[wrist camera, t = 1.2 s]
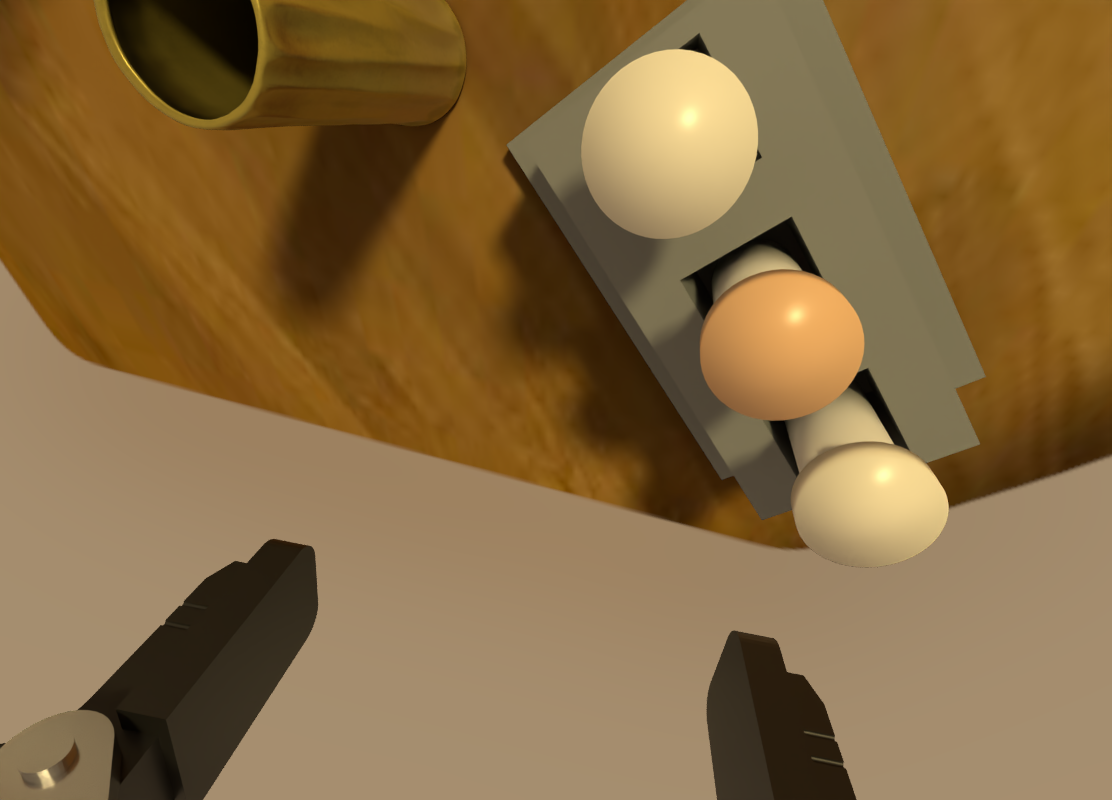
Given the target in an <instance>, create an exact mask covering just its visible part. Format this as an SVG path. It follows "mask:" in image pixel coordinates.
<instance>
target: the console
mask: <svg viewBox="0 0 1112 800" xmlns="http://www.w3.org/2000/svg"><path fill="white" fill-rule="evenodd" d="M673 49H682V50H690V51H695V52H699V53H702V54H705V55H707V56H709V57H712V58H714V59H716V60H717V61H719V62H720V63H722V64H723V65H725V66H726V67H727V68H728V69H729V70H730V71H731V72H733V73H734V74H735V76H736V77H737V78H738V79H739V80H740V82H741V83H742V84H743V86H744V88H745V89H746V91H747V93H748V94H749V97H750V99H751V102H752V104H753V107H754V111H755V115H756V118H757V127H758V148H757V155H756V160H755V163H754V167H753V171H752V173H751V176H750V178H749V181H748V183H747V184H746V186H745V188H744V190H743V192H742V193H741V195H740V196H739V198H738V199H737V201H736V202H735V203H734V204H733V205H732V207H731V208H730V209H729V210H728V211H727V212H726V213H725V214H724V215H722V216H721V217H720V218H719V219H718V220H716V221H715V222H714V223H712V224H711V225H709V226H708V227H706V228H704V229H702V230H700V231H698V232H695V233H693V234H690V235H687V236H683V237H679V238H671V239H654V238H648V237H643V236H640V235H636V234H634V233H631V232H629V231H627V230H625V229H623V228H622V227H620V226H619V225H617V224H616V223H614V222H613V221H612V220H611V219H610V218H608V217H607V216H606V214H605V213H604V212H603V211H602V210H601V209H600V207H599V206H598V205H597V203H596V202H595V200H594V198H593V197H592V195H591V193H590V191H589V188H588V186H587V183H586V180H585V176H584V172H583V167H582V158H581V144H582V136H583V130H584V126H585V122H586V119H587V116H588V114H589V111H590V109H591V107H592V105H593V103H594V101H595V99H596V97H597V96H598V94H599V93H600V91H601V90H602V88H603V87H604V86H605V85H606V83H607V82H608V81H609V80H610V79H611V78H612V77H613V76H614V75H615V74H616V73H617V72H618V71H620V70H621V69H622V68H623V67H625V66H626V65H628V64H629V63H631V62H632V61H634V60H636V59H638V58H640V57H642V56H645V55H648V54H651V53H654V52H658V51H663V50H673ZM507 147H508V148H509V150H510V151H511V153H512V154H513V156H514V158H515V159H516V161H517V162H518V164H519V165H520V167H521V168H522V170H523V172H524V173H525V175H526V176H527V178H528V179H529V181H530V182H531V184H532V186H533V187H534V189H535V190H536V192H537V193H538V195H539V196H540V198H541V200H542V201H543V203H544V204H545V206H546V207H547V209H548V210H549V212H550V214H551V215H552V217H553V218H554V220H555V221H556V223H557V224H558V226H559V228H560V229H561V231H562V232H563V234H564V235H565V237H566V238H567V240H568V242H569V243H570V245H571V246H572V248H573V249H574V251H575V252H576V254H577V256H578V257H579V259H580V260H581V262H582V263H583V265H584V266H585V268H586V270H587V271H588V273H589V274H590V276H591V277H592V279H593V280H594V282H595V284H596V285H597V287H598V288H599V290H600V291H601V293H602V294H603V296H604V298H605V299H606V301H607V302H608V304H609V305H610V307H611V308H612V310H613V312H614V313H615V315H616V316H617V318H618V319H619V321H620V322H621V324H622V326H623V327H624V329H625V330H626V332H627V333H628V335H629V336H630V338H631V340H632V341H633V343H634V344H635V346H636V347H637V349H638V350H639V352H640V354H641V355H642V357H643V358H644V360H645V361H646V363H647V364H648V366H649V368H650V369H651V371H652V372H653V374H654V375H655V377H656V378H657V380H658V382H659V383H660V385H661V386H662V388H663V389H664V391H665V392H666V394H667V396H668V397H669V399H670V400H671V402H672V403H673V405H674V406H675V408H676V410H677V411H678V413H679V414H680V416H681V417H682V419H683V420H684V422H685V424H686V425H687V427H688V428H689V430H690V431H691V433H692V434H693V436H694V438H695V439H696V441H697V442H698V444H699V445H700V447H701V448H702V450H703V452H704V453H705V455H706V456H707V458H708V459H709V461H710V462H711V464H712V466H713V467H714V469H715V470H716V472H717V473H718V475H719V476H720V478H721V480H723V479H726V478H728V477H731V476H733V475H734V477H735V478H736V480H737V482H738V483H739V485H740V486H741V488H742V489H743V491H744V493H745V494H746V496H747V497H748V499H749V501H750V502H751V504H752V505H753V507H754V508H755V510H756V512H757V513H758V515H759V516H760V518H761V519H762V520H764V519H767V518H770V517H773V516H775V515H778V514H781V513H784V512H787V511H790V510H792V507H791V492H792V487H793V485H794V482H795V480H796V478H797V476H798V475H799V470H798V466H797V463H796V459H795V456H794V452H793V449H792V446H791V442H790V439H789V435H788V432H787V428H786V425H785V421H784V420H775V421H771V420H761V419H756V418H752V417H748V416H745V415H743V414H740V413H738V412H736V411H734V410H732V409H731V408H729V407H728V406H726V405H725V404H724V403H722V402H721V401H720V400H719V399H718V398H717V397H716V396H715V395H714V393H713V392H712V391H711V389H710V388H709V386H708V384H707V382H706V380H705V378H704V375H703V372H702V368H701V363H700V334H701V330H702V326H703V323H704V320H705V318H706V315H707V314H708V312H709V310H710V308H711V307H712V306H713V294H712V276H713V272H714V270H715V267H716V265H717V264H718V262H719V261H720V259H721V258H722V257H723V256H724V255H725V254H727V253H729V252H731V251H732V250H734V249H736V248H738V247H739V246H741V245H743V244H745V243H746V242H748V241H751V240H768V241H772V242H775V243H778V244H780V245H781V246H783V247H785V248H786V249H787V250H788V251H789V252H790V253H791V254H792V255H793V257H794V259H795V260H796V262H797V263H798V265H799V266H800V268H801V270H802V271H805V272H808V273H812V274H815V275H817V276H819V277H821V278H823V279H825V280H826V281H828V282H830V283H831V284H832V285H834V286H835V287H836V288H837V289H838V290H839V291H840V292H841V293H842V294H843V296H844V297H845V298H846V299H847V301H848V302H849V303H850V304H851V306H852V307H853V308H854V310H855V312H856V313H857V315H858V317H859V319H860V322H861V325H862V328H863V333H864V354H863V358H862V362H861V365H860V367H859V370H858V372H857V374H856V376H855V377H854V379H853V380H854V381H855V382H857V384H858V385H859V386H860V387H861V389H862V390H863V392H864V394H865V396H866V397H867V399H868V401H869V402H870V404H871V406H872V408H873V409H874V411H875V413H876V414H877V416H878V418H879V420H880V421H881V423H882V425H883V426H884V428H885V430H886V431H887V433H888V435H889V437H890V438H891V440H892V442H893V443H894V445H897V446H900V447H903V448H905V449H907V450H909V451H911V452H913V453H914V454H916V455H918V456H919V457H920V458H921V459H922V460H924V461H925V463H928V462H931V461H933V460H936V459H939V458H942V457H945V456H948V455H951V454H953V453H956V452H959V451H962V450H965V449H968V448H971V447H974V446H976V445H979V444H980V442H979V440H978V438H977V436H976V434H975V431H974V429H973V427H972V425H971V423H970V421H969V418H968V416H967V414H966V412H965V410H964V407H963V405H962V403H961V401H960V399H959V396H958V394H957V392H956V390H955V388H958V387H961V386H963V385H966V384H968V383H971V382H973V381H976V380H978V379H981V378H984V377H986V376H985V374H984V372H983V369H982V367H981V365H980V362H979V360H978V358H977V355H976V353H975V351H974V348H973V346H972V344H971V341H970V339H969V337H968V335H967V332H966V330H965V328H964V325H963V323H962V321H961V318H960V316H959V314H958V311H957V309H956V307H955V304H954V302H953V300H952V298H951V295H950V293H949V291H948V288H947V286H946V284H945V281H944V279H943V277H942V274H941V272H940V270H939V267H938V265H937V263H936V261H935V258H934V256H933V254H932V251H931V249H930V247H929V244H928V242H927V240H926V237H925V235H924V233H923V230H922V228H921V226H920V224H919V221H918V219H917V217H916V214H915V212H914V210H913V207H912V205H911V203H910V200H909V198H908V196H907V193H906V191H905V189H904V187H903V184H902V182H901V180H900V177H899V175H898V173H897V170H896V168H895V166H894V163H893V161H892V159H891V156H890V154H889V152H888V150H887V147H886V145H885V143H884V140H883V138H882V136H881V133H880V131H879V129H878V126H877V124H876V122H875V119H874V117H873V115H872V113H871V110H870V108H869V106H868V103H867V101H866V99H865V96H864V94H863V92H862V89H861V87H860V85H859V82H858V80H857V78H856V76H855V73H854V71H853V69H852V66H851V64H850V62H849V59H848V57H847V55H846V52H845V50H844V48H843V45H842V43H841V41H840V39H839V36H838V34H837V32H836V29H835V27H834V25H833V22H832V20H831V18H830V15H829V13H828V11H827V8H826V6H825V4H824V2H823V0H687V1H686V2H684V3H683V4H682V5H681V6H679V7H678V8H677V9H676V10H674V11H673V12H672V13H671V14H669V15H668V16H667V17H666V18H664V19H663V20H662V21H661V22H659V23H658V24H657V25H656V26H654V27H653V28H652V29H651V30H649V31H648V32H647V33H646V34H644V35H643V36H642V37H641V38H639V39H638V40H637V41H636V42H634V43H633V44H632V45H631V46H629V47H628V48H627V49H626V50H624V51H623V52H622V53H621V54H619V55H618V56H617V57H616V58H614V59H613V60H612V61H611V62H609V63H608V64H607V65H606V66H604V67H603V68H602V69H601V70H599V71H598V72H597V73H596V74H594V75H593V76H592V77H591V78H589V79H588V80H587V81H586V82H584V83H583V84H582V85H581V86H579V87H578V88H577V89H576V90H574V91H573V92H572V93H571V94H569V95H568V96H567V97H566V98H564V99H563V100H562V101H561V102H559V103H558V104H557V105H556V106H554V107H553V108H552V109H551V110H549V111H548V112H547V113H546V114H544V115H543V116H542V117H541V118H539V119H538V120H537V121H536V122H534V123H533V124H532V125H531V126H529V127H528V128H527V129H526V130H524V131H523V132H522V133H521V134H519V135H518V136H517V137H516V138H514V139H513V140H512V141H511V142H509V143H508V144H507Z"/></svg>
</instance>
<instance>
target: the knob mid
mask: <svg viewBox="0 0 1112 800" xmlns="http://www.w3.org/2000/svg"><path fill="white" fill-rule="evenodd" d="M712 294H713V306H712V307H711V308H710V310H709V312H708V314H707V315H706V318H705V320H704V323H703V326H702V330H701V334H700V363H701V368H702V372H703V375H704V378H705V380H706V382H707V384H708V386H709V388H710V389H711V391H712V392H713V393H714V395H715V396H716V397H717V398H718V399H719V400H720V401H721V402H722V403H724V404H725V405H726V406H728V407H729V408H731V409H732V410H734V411H736V412H738V413H740V414H743V415H745V416H748V417H752V418H756V419H761V420H771V421H775V420H789V419H795V418H799V417H803V416H806V415H808V414H811V413H814V412H816V411H818V410H820V409H822V408H823V407H825V406H827V405H828V404H830V403H831V402H833V401H834V400H835V399H836V398H838V397H839V396H840V395H841V394H842V393H843V392H844V391H845V390H846V389H847V387H848V386H849V385H850V384H851V382H852V381H853V379H854V377H855V376H856V374H857V372H858V370H859V367H860V365H861V362H862V358H863V354H864V333H863V328H862V325H861V322H860V319H859V317H858V315H857V313H856V312H855V310H854V308H853V307H852V306H851V304H850V303H849V302H848V301H847V299H846V298H845V297H844V296H843V294H842V293H841V292H840V291H839V290H838V289H837V288H836V287H835V286H834V285H832V284H831V283H830V282H828V281H826V280H825V279H823V278H821V277H819V276H817V275H815V274H812V273H808V272H805V271H802V270H801V268H800V266H799V265H798V263H797V262H796V260H795V259H794V257H793V255H792V254H791V253H790V252H789V251H788V250H787V249H786V248H785V247H783V246H781V245H780V244H778V243H775V242H772V241H768V240H751V241H748V242H746V243H745V244H743V245H741V246H739V247H738V248H736V249H734V250H732V251H731V252H729V253H727V254H725V255H724V256H723V257H722V258H721V259H720V261H719V262H718V264H717V265H716V267H715V270H714V272H713V276H712Z"/></svg>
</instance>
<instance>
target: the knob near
mask: <svg viewBox="0 0 1112 800" xmlns="http://www.w3.org/2000/svg"><path fill="white" fill-rule="evenodd" d="M757 148H758V127H757V118H756V115H755V111H754V107H753V104H752V102H751V99H750V97H749V94H748V93H747V91H746V89H745V88H744V86H743V84H742V83H741V82H740V80H739V79H738V78H737V77H736V76H735V74H734V73H733V72H731V71H730V70H729V69H728V68H727V67H726V66H725V65H723V64H722V63H720V62H719V61H717V60H716V59H714V58H712V57H709V56H707V55H705V54H702V53H699V52H695V51H690V50H682V49H673V50H663V51H658V52H654V53H651V54H648V55H645V56H642V57H640V58H638V59H636V60H634V61H632V62H631V63H629V64H628V65H626V66H625V67H623V68H622V69H621V70H620V71H618V72H617V73H616V74H615V75H614V76H613V77H612V78H611V79H610V80H609V81H608V82H607V83H606V85H605V86H604V87H603V88H602V90H601V91H600V93H599V94H598V96H597V97H596V99H595V101H594V103H593V105H592V107H591V109H590V111H589V114H588V116H587V119H586V122H585V126H584V130H583V136H582V144H581V158H582V167H583V172H584V176H585V180H586V183H587V186H588V188H589V191H590V193H591V195H592V197H593V198H594V200H595V202H596V203H597V205H598V206H599V207H600V209H601V210H602V211H603V212H604V213H605V214H606V216H607V217H608V218H610V219H611V220H612V221H613V222H614V223H616V224H617V225H619V226H620V227H622V228H623V229H625V230H627V231H629V232H631V233H634V234H636V235H640V236H643V237H648V238H654V239H671V238H679V237H683V236H687V235H690V234H693V233H695V232H698V231H700V230H702V229H704V228H706V227H708V226H709V225H711V224H712V223H714V222H715V221H716V220H718V219H719V218H720V217H721V216H722V215H724V214H725V213H726V212H727V211H728V210H729V209H730V208H731V207H732V205H733V204H734V203H735V202H736V201H737V199H738V198H739V196H740V195H741V193H742V192H743V190H744V188H745V186H746V184H747V183H748V181H749V178H750V176H751V173H752V171H753V167H754V163H755V160H756V155H757Z"/></svg>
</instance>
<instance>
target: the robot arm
mask: <svg viewBox="0 0 1112 800" xmlns="http://www.w3.org/2000/svg"><path fill="white" fill-rule="evenodd" d="M317 610H318V595H317V578H316V563H315V552H314V549H313V548H312V547H311V546H307V545H302V544H297V543H291V542H287V541H282V540H277V539H271V540H269V541H267V542H266V543H265V544H264V545H263V546H262V547H261V548H260V549H259V550H258V551H257V553H256V554H255V555H254V556H253V557H252V558H251V559H250V560H249V561H248V563H242V562H238V561H234V562H233V563H231V564H229V565H228V566H226V567H224V568H223V569H221V570H219V571H218V572H216V573H214V574H213V575H211V576H209V577H207V578H206V579H205V580H204V581H203V582H202V583H201V584H200V585H199V586H198V587H197V588H196V589H195V590H194V591H193V592H192V593H191V594H190V595H189V596H188V597H187V599H186V600H185V601H184V604H183V605H182V606H179V607H178V608H177V609H176V610H175V611H174V612H173V613H172V614H171V615H170V616H169V617H168V618H167V619H166V622H165V624H164V625H163V626H162V625H160V627H159V628H158V629H157V630H156V631H155V632H154V633H153V634H152V635H151V636H150V637H149V638H148V639H147V640H146V641H145V642H144V643H143V644H142V645H141V646H140V647H139V648H138V649H137V650H136V651H135V652H134V654H133V655H132V656H131V657H130V658H129V659H128V660H127V661H126V662H125V663H124V664H123V665H122V666H121V667H120V668H119V669H118V670H117V671H116V672H115V673H114V674H113V675H112V676H111V677H110V679H108V681H107V682H106V683H105V684H104V685H103V686H102V687H101V688H100V689H99V690H98V691H97V692H96V693H95V694H94V695H93V696H92V697H91V698H90V699H89V700H88V701H87V702H86V703H85V704H84V705H83V706H82V707H81V708H79V709H78V710H76V711H68V712H65V713H60V714H57V715H54V716H51V717H48V718H46V719H44V720H41V721H39V722H37V723H35V724H33V725H32V726H30V727H28V728H26V729H25V730H23V731H22V732H20V733H19V734H17V735H16V736H14V737H13V738H12V739H11V740H9V741H8V742H7V743H3V744H0V800H203V799H204V797H205V796H206V794H207V793H208V791H209V789H210V788H211V786H212V785H213V783H214V782H215V780H216V779H217V777H218V776H219V774H220V772H221V771H222V769H223V768H224V766H225V765H226V763H227V762H228V760H229V759H230V757H231V755H232V754H233V752H234V751H235V749H236V748H237V746H238V745H239V743H240V741H241V740H242V738H243V737H244V735H245V734H246V732H247V731H248V729H249V728H250V726H251V725H252V723H253V721H254V720H255V718H256V717H257V715H258V714H259V712H260V711H261V709H262V708H263V706H264V704H265V703H266V701H267V700H268V698H269V697H270V695H271V693H272V692H273V691H274V689H275V687H276V686H277V684H278V682H279V681H280V680H281V678H282V677H283V675H284V673H285V672H286V670H287V669H288V667H289V666H290V664H291V663H292V661H293V659H294V658H295V656H296V655H297V653H298V652H299V650H300V649H301V647H302V646H303V644H304V643H305V641H306V639H307V638H308V636H309V634H310V632H311V630H312V628H313V625H314V622H315V619H316V615H317ZM707 724H708V732H709V740H710V747H711V755H712V763H713V771H714V779H715V786H716V794H717V800H856V797H855V794H854V791H853V788H852V785H851V782H850V779H849V776H848V774H847V770H846V769H845V768H844V767H843V762H844V761H843V758H842V756H841V752H840V750H839V747H838V744H837V742H835V740H834V736H835V735H834V732H833V729H832V726H831V723H830V720H829V717H828V714H827V711H826V708H825V705H824V703H823V702H822V701H821V699H820V698H819V697H818V695H817V694H816V692H815V691H814V690H813V688H812V687H811V685H810V684H809V683H808V681H807V680H806V679H805V677H804V676H803V675H798V674H792V673H788V672H787V671H786V668H785V664H784V661H783V657H782V654H781V651H780V647H779V645H778V643H777V641H776V640H775V639H774V638H769V637H764V636H759V635H754V634H748V633H743V632H738V631H732V632H731V633H730V635H729V636H728V639H727V641H726V644H725V647H724V649H723V652H722V654H721V657H720V660H719V662H718V665H717V667H716V670H715V673H714V676H713V678H712V681H711V683H710V687H709V691H708V697H707Z"/></svg>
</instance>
